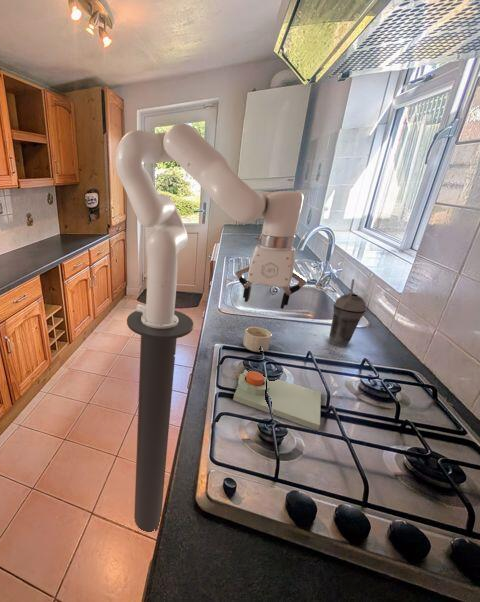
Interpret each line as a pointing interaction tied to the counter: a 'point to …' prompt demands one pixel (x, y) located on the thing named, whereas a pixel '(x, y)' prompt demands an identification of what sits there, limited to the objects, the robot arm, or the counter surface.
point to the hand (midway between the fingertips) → (264, 303)
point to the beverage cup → (346, 317)
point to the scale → (282, 400)
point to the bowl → (257, 339)
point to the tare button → (255, 378)
